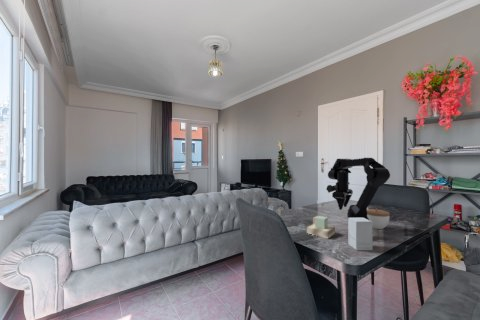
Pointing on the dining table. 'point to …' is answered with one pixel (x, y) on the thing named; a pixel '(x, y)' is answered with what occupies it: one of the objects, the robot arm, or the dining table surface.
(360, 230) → the supplement box
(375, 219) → the lidded bowl
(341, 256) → the dining table surface
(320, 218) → the sage cube
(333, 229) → the birch block
